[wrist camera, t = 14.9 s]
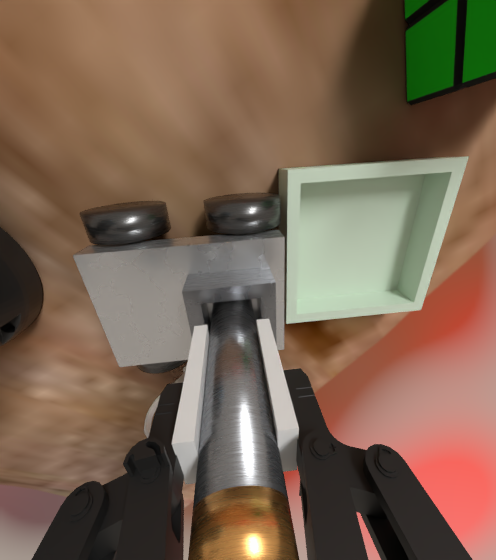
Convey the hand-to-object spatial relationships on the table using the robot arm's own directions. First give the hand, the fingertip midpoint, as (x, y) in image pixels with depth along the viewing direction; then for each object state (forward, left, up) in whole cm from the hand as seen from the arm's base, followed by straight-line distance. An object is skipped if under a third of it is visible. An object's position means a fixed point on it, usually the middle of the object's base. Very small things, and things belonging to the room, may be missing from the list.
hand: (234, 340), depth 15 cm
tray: (+12, +2, -11) cm, 16 cm away
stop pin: (0, 0, -4) cm, 4 cm away
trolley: (-3, 0, -11) cm, 11 cm away
